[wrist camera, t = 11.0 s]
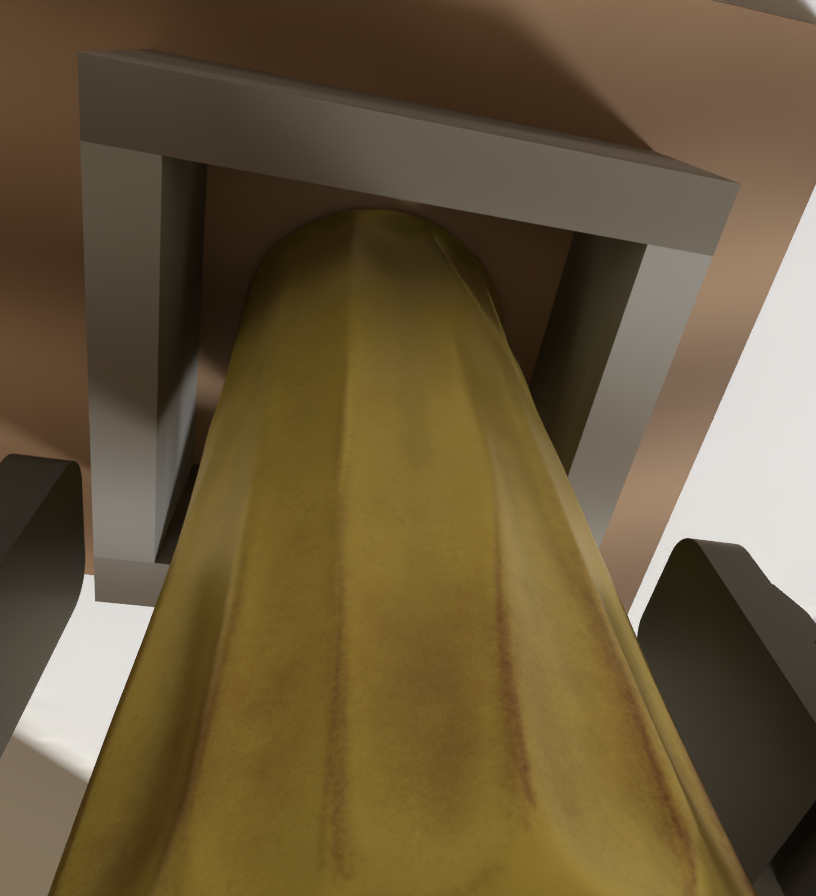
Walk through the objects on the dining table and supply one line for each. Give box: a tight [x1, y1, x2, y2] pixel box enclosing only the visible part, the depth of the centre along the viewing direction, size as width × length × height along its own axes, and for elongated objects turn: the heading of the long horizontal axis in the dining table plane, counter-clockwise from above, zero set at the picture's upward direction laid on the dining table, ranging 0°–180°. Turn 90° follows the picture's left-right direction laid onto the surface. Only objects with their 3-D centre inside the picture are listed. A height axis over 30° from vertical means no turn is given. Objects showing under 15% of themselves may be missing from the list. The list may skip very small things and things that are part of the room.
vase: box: [48, 208, 757, 896], centre depth 11 cm, size 6×6×14 cm
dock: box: [0, 0, 816, 614], centre depth 16 cm, size 16×18×6 cm
